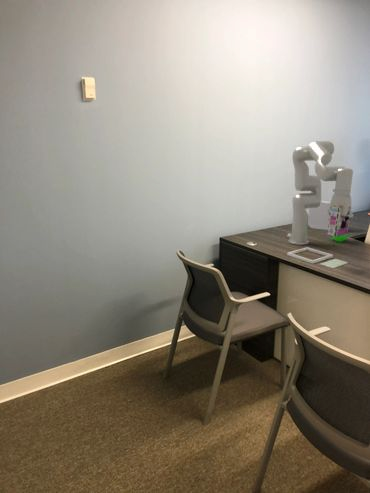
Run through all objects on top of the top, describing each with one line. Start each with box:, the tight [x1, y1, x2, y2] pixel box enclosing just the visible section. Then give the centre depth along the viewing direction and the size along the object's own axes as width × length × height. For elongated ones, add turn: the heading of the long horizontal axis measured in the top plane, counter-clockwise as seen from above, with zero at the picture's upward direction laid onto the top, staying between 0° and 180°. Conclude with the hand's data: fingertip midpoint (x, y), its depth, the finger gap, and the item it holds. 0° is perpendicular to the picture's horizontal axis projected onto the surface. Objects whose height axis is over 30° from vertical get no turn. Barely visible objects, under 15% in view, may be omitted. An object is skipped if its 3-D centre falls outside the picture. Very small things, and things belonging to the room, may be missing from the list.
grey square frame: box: [286, 246, 334, 264], centre depth 219 cm, size 18×18×2 cm
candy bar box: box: [327, 204, 350, 238], centre depth 199 cm, size 11×5×16 cm, turn 126°
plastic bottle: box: [331, 233, 348, 243], centre depth 245 cm, size 10×10×25 cm
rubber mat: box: [319, 258, 349, 270], centre depth 206 cm, size 8×14×1 cm, turn 125°
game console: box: [308, 200, 350, 232], centre depth 273 cm, size 6×27×20 cm, turn 58°
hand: (338, 226), depth 200 cm, fingers closed on candy bar box, 5 cm apart
